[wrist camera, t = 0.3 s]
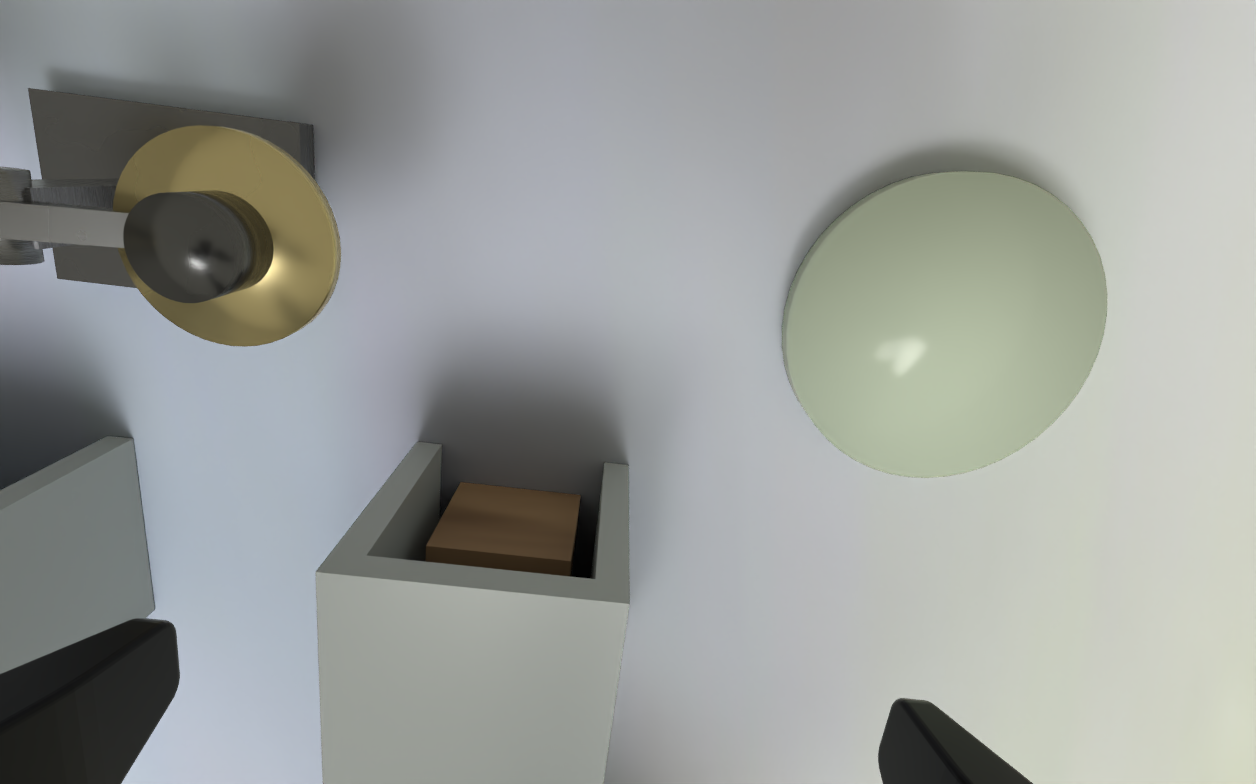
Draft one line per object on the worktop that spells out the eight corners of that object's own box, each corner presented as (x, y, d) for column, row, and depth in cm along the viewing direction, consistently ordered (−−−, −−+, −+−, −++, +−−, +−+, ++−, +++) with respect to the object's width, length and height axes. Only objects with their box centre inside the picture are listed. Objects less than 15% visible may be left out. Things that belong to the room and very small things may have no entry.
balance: (418, 314, 20) (282, 406, 12) (-25, 262, 19) (-467, 323, 12) (421, 139, 18) (269, 114, 10) (-61, 77, 18) (-601, 2, 10)
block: (569, 594, 23) (558, 677, 19) (456, 582, 23) (422, 664, 19) (581, 493, 22) (570, 561, 18) (461, 481, 22) (426, 545, 18)
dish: (1025, 475, 22) (1048, 492, 20) (757, 445, 21) (764, 461, 20) (1123, 192, 19) (1155, 194, 18) (815, 152, 18) (828, 150, 17)
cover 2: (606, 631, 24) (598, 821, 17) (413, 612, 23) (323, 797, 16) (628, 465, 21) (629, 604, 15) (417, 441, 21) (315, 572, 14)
